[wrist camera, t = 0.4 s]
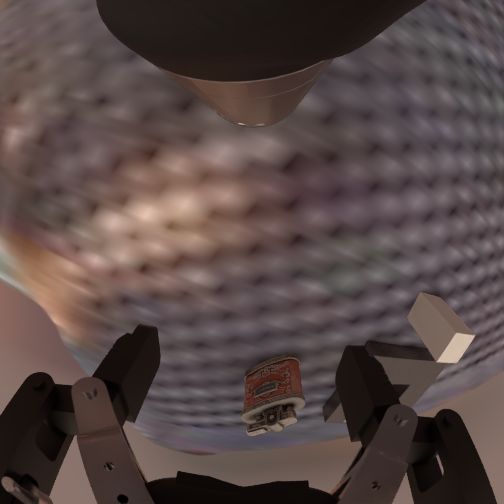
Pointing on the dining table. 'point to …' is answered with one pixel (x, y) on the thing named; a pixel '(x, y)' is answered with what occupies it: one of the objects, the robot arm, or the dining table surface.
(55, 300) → the dining table surface
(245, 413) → the lighter
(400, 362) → the slot holder
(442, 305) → the peg
